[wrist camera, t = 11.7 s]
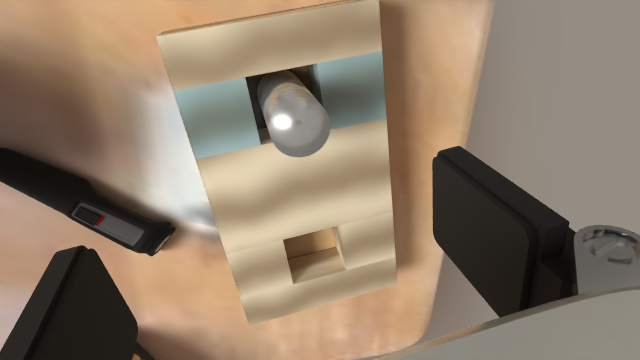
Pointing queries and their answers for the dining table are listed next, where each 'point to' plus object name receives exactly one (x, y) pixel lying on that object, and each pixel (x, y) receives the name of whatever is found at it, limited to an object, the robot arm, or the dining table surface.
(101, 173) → the dining table surface
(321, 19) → the dock board
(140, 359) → the ammunition clip
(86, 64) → the dining table surface
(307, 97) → the peg
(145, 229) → the electric trimmer
